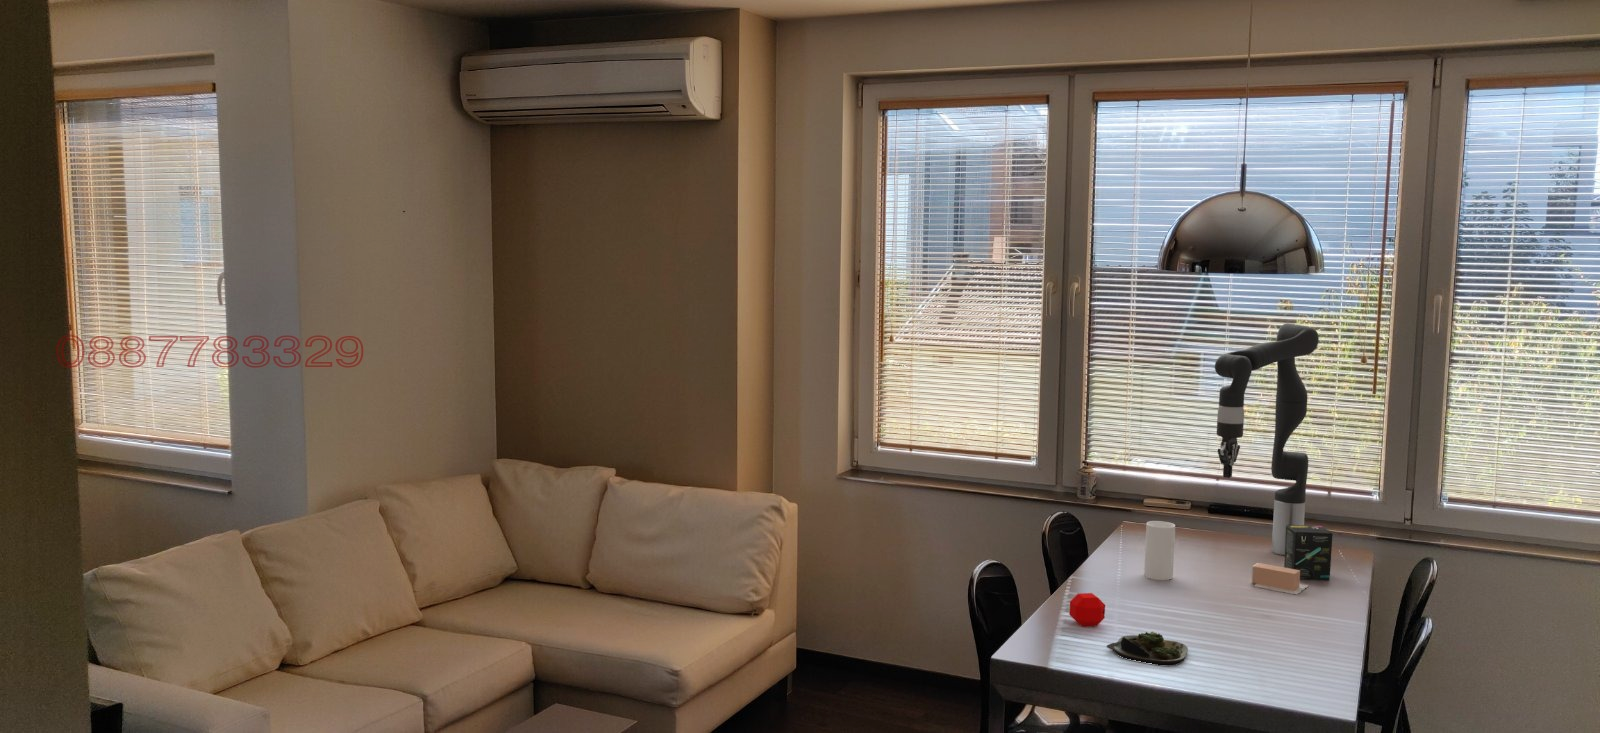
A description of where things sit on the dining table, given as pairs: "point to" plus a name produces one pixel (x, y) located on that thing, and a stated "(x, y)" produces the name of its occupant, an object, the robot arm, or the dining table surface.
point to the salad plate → (1150, 649)
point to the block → (1275, 576)
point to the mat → (1298, 590)
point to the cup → (1159, 550)
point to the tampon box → (1308, 551)
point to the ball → (1087, 609)
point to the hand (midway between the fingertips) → (1227, 477)
